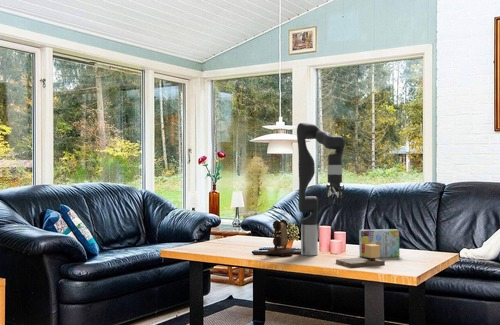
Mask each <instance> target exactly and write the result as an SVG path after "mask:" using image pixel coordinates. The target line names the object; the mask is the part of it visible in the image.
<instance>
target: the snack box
mask: <svg viewBox="0 0 500 325" xmlns="http://www.w3.org/2000/svg"><path fill="white" fill-rule="evenodd" d="M358 235H359V236H358V240H359V241H358V242H359V243H358V244H359V256H360V257H361V256H365V245H366V244H376V245H380V257H379V258H398V257H400V230H399V229H398V228H397V229H395V228H391V229H390V228H389V229H388V228H387V229H386V228H385V229H383V228H382V229H379V228H378V229H359V232H358Z"/></svg>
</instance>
